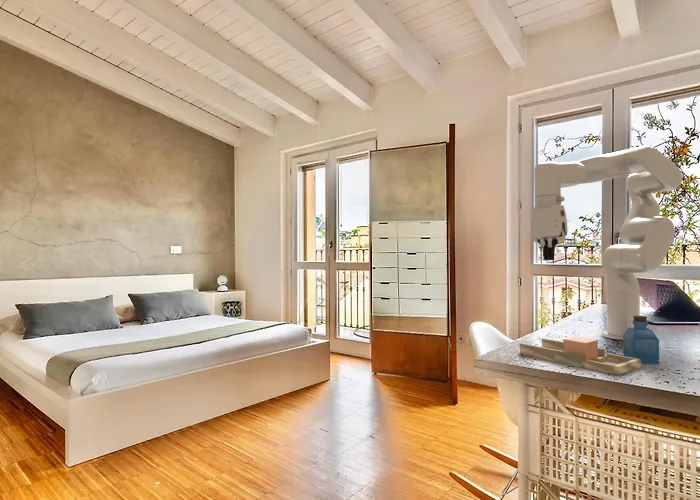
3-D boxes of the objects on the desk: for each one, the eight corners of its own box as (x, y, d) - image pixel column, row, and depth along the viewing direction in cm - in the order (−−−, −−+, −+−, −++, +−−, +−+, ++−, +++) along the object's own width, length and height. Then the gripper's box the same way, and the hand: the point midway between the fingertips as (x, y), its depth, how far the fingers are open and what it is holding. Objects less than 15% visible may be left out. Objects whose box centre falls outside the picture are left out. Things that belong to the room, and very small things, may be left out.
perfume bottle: (659, 364, 114) (658, 318, 114) (633, 363, 115) (632, 318, 115) (648, 358, 120) (647, 314, 120) (623, 357, 121) (622, 314, 121)
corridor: (543, 348, 133) (543, 338, 133) (641, 367, 111) (640, 355, 111) (519, 353, 127) (519, 343, 127) (618, 375, 104) (617, 362, 104)
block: (576, 357, 122) (575, 336, 122) (598, 362, 116) (597, 340, 116) (564, 361, 118) (563, 339, 118) (586, 365, 113) (585, 342, 113)
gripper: (577, 200, 133) (578, 259, 133) (533, 205, 145) (534, 259, 145) (563, 199, 129) (564, 260, 129) (519, 204, 141) (520, 260, 141)
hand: (548, 259), depth 137 cm, fingers closed
